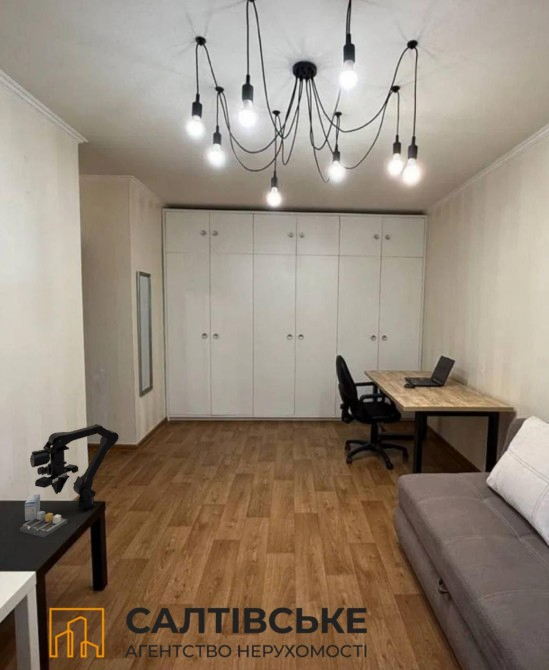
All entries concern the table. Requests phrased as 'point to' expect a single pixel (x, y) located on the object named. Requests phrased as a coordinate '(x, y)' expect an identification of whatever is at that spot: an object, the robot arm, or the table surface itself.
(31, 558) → the table surface
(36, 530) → the panel
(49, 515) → the slider amber
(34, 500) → the medicine box
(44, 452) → the robot arm
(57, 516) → the slider cream
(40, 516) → the slider blue
